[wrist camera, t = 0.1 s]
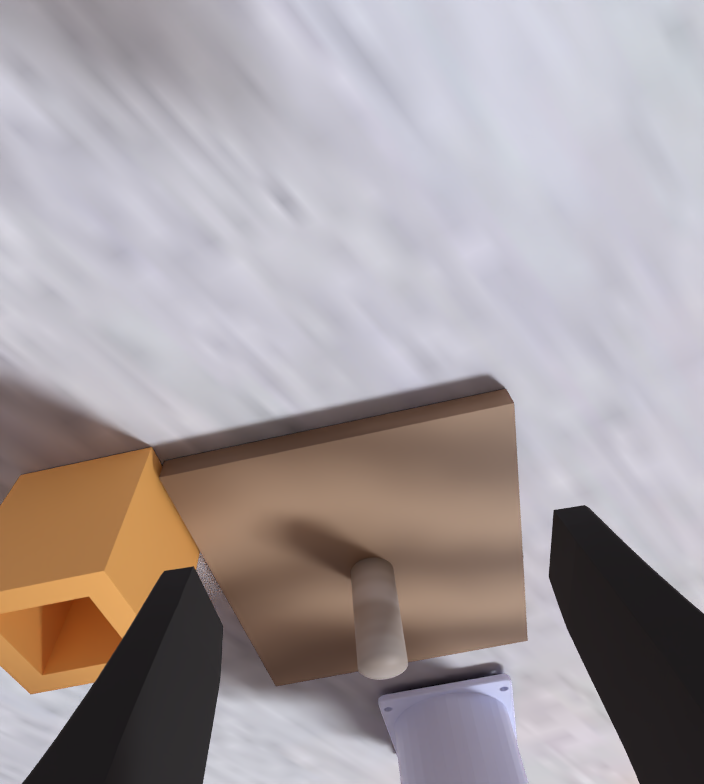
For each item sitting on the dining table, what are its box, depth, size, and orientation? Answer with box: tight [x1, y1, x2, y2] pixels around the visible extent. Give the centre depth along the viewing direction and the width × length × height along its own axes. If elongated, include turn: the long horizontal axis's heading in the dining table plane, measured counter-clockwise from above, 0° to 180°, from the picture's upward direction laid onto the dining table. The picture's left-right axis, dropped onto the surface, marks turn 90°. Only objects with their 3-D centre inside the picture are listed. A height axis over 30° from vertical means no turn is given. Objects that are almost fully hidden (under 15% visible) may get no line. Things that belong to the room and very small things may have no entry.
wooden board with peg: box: [159, 389, 528, 686], centre depth 24 cm, size 16×14×6 cm
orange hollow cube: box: [0, 447, 200, 694], centre depth 21 cm, size 6×6×6 cm
